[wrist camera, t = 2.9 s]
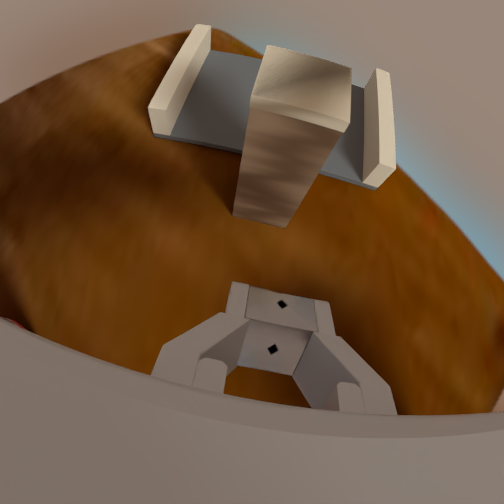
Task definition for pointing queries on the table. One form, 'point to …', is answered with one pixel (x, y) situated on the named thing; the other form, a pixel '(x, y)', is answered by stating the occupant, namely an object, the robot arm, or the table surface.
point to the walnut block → (289, 132)
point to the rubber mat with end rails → (237, 110)
